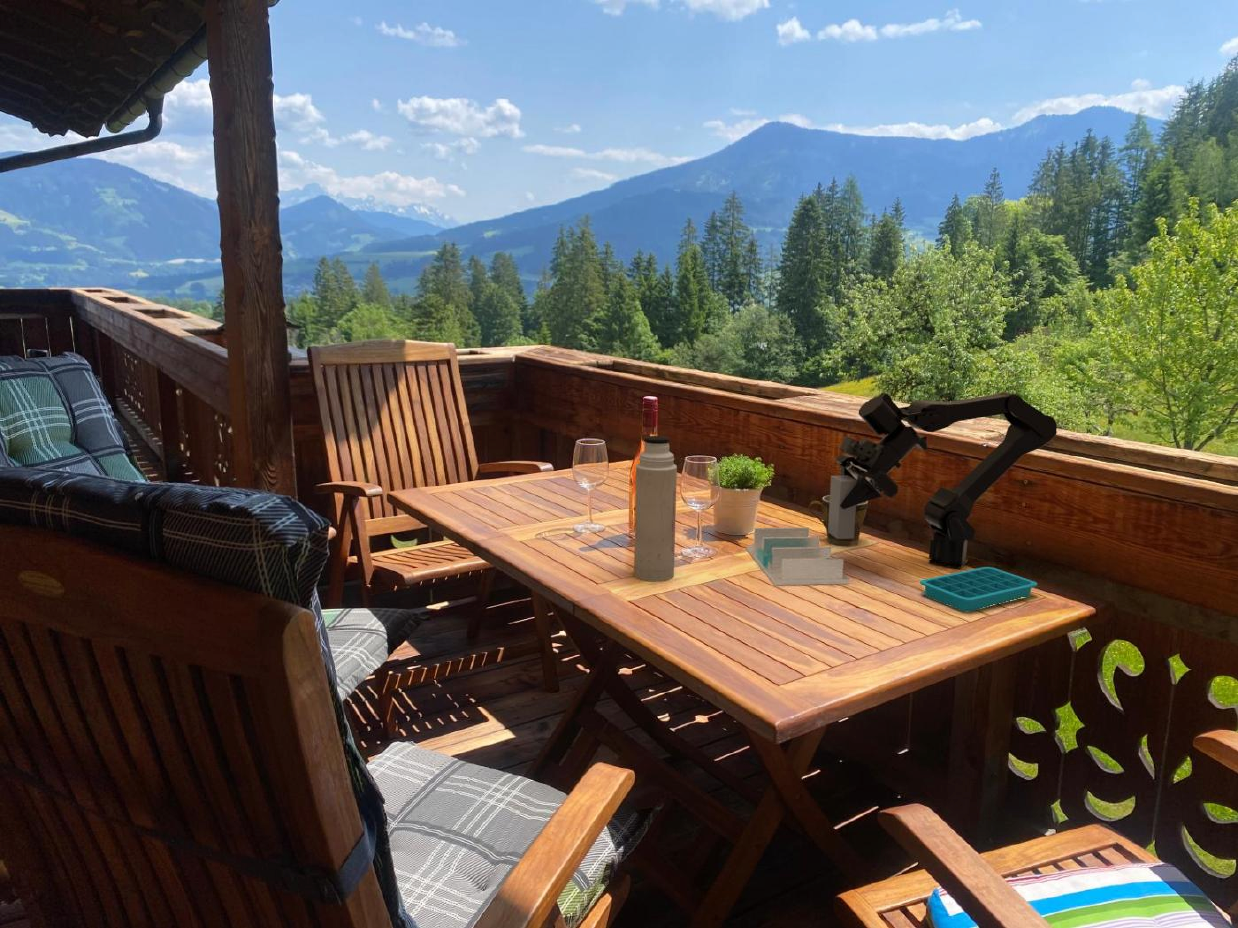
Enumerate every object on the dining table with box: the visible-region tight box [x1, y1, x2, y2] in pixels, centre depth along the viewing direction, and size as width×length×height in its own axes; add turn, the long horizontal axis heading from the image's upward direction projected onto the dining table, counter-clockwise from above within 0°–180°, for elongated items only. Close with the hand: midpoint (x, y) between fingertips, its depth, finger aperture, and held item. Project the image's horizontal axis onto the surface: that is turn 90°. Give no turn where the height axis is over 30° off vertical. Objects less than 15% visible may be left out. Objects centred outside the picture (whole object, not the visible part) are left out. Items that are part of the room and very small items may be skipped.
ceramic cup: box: [808, 494, 869, 547], centre depth 195 cm, size 13×10×10 cm
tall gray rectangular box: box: [828, 475, 857, 539], centre depth 175 cm, size 4×5×12 cm
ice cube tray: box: [919, 566, 1038, 612], centre depth 162 cm, size 12×20×3 cm, turn 119°
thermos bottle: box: [633, 435, 678, 582], centre depth 168 cm, size 8×8×28 cm
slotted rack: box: [746, 526, 851, 586], centre depth 178 cm, size 15×23×5 cm, turn 5°
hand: (836, 504), depth 174 cm, fingers closed on tall gray rectangular box, 5 cm apart
